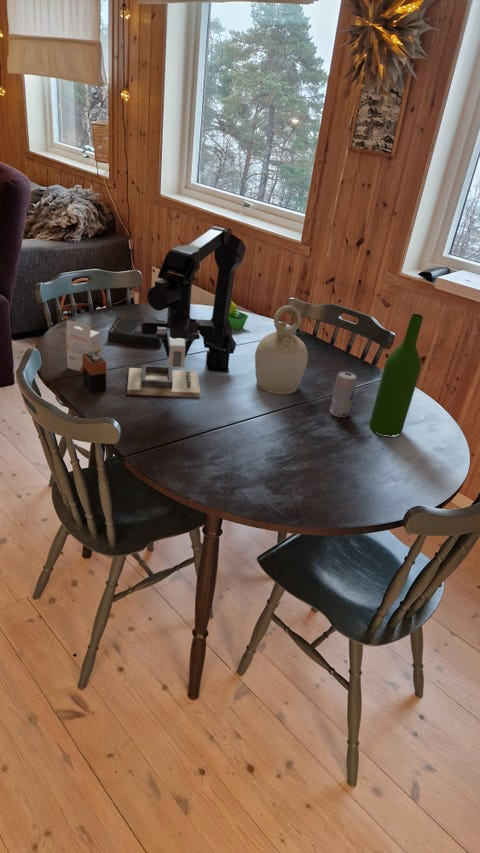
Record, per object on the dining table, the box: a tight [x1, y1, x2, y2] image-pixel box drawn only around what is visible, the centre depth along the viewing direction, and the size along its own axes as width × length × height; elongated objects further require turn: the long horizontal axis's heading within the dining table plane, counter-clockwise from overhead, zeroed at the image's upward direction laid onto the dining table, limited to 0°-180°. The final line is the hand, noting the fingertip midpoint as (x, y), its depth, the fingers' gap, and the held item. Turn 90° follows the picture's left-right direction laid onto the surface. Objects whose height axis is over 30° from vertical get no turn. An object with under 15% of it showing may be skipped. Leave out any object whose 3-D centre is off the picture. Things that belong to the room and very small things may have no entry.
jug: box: [254, 304, 309, 395], centre depth 164 cm, size 15×16×25 cm
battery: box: [82, 351, 107, 395], centre depth 153 cm, size 4×7×10 cm, turn 34°
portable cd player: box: [107, 315, 166, 349], centre depth 191 cm, size 16×17×4 cm
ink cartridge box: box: [65, 319, 101, 373], centre depth 161 cm, size 9×5×15 cm, turn 68°
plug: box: [167, 336, 186, 368], centre depth 150 cm, size 4×7×6 cm, turn 9°
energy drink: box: [329, 370, 358, 418], centre depth 156 cm, size 5×5×12 cm
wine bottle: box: [368, 313, 424, 436], centre depth 146 cm, size 9×9×32 cm
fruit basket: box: [229, 300, 249, 331], centre depth 208 cm, size 11×9×11 cm
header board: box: [126, 364, 201, 398], centre depth 161 cm, size 20×14×4 cm
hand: (176, 357), depth 151 cm, fingers closed on plug, 4 cm apart
